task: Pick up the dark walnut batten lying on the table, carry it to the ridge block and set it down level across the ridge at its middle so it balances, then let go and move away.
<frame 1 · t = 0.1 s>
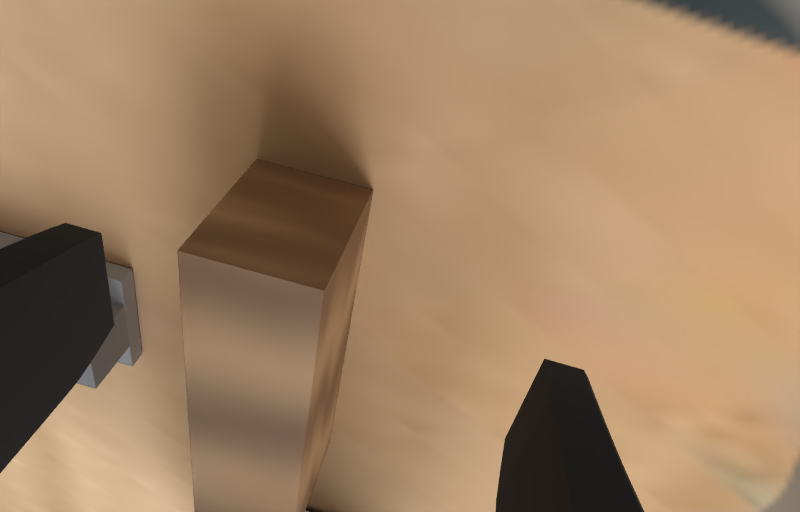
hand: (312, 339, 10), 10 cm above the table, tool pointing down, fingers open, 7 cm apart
batten: (301, 321, 24), on the table
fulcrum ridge: (5, 275, 26), on the table
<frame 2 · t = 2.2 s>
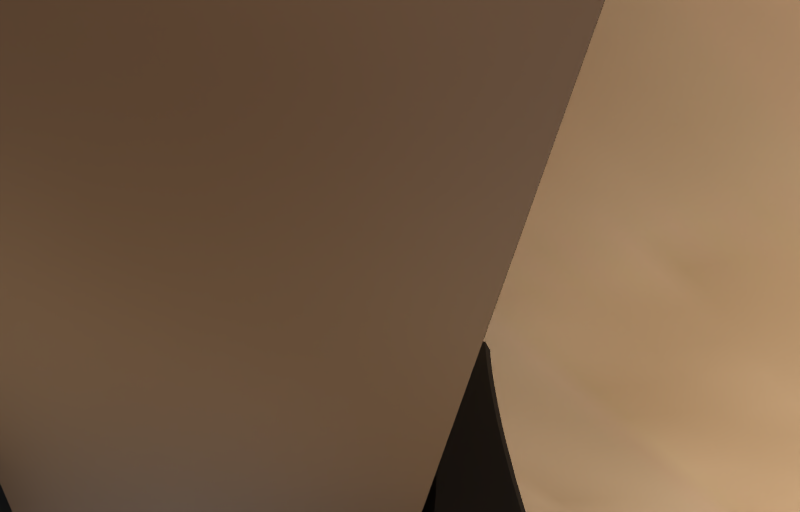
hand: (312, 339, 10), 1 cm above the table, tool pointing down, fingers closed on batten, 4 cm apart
batten: (338, 283, 11), on the table, touching gripper
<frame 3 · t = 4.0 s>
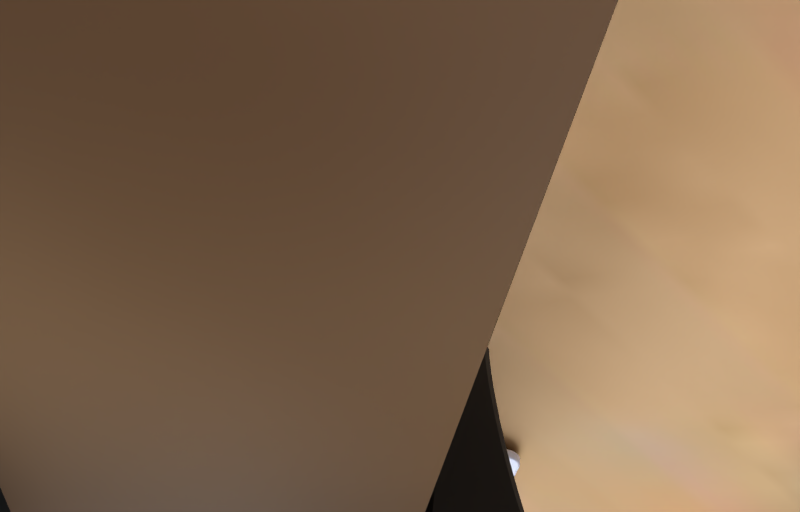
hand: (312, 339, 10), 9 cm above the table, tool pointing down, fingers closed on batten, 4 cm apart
batten: (338, 283, 11), point 8 cm above the table, touching gripper
when the fingers open (5 cm above the table, at t = 6.3 s): batten stays where it is, resting on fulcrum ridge.
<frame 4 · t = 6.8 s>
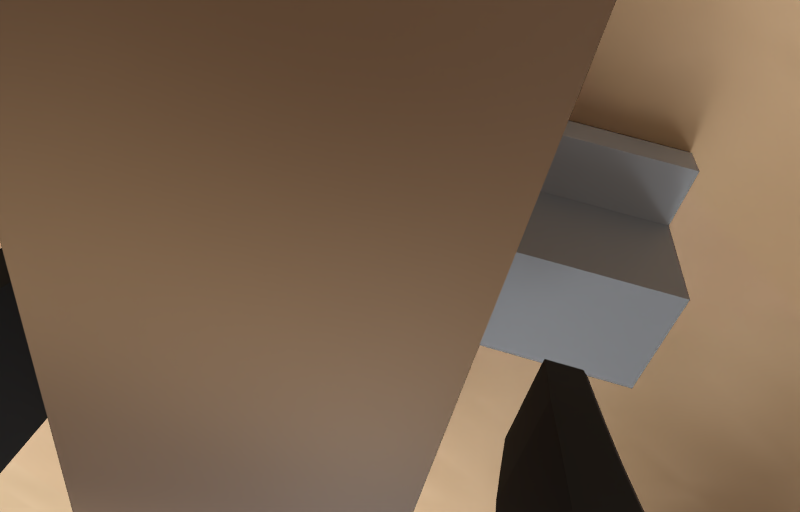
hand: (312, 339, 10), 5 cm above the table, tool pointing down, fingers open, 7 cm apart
batten: (348, 256, 11), point 3 cm above the table, touching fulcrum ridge
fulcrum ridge: (385, 180, 14), on the table
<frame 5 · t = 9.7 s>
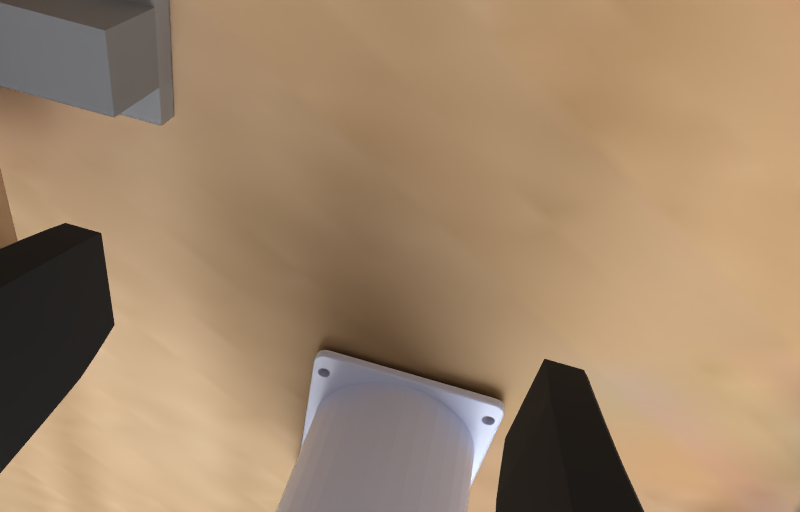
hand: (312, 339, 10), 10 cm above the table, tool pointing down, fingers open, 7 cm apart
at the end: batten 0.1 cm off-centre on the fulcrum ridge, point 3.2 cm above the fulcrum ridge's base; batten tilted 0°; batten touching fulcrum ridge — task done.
